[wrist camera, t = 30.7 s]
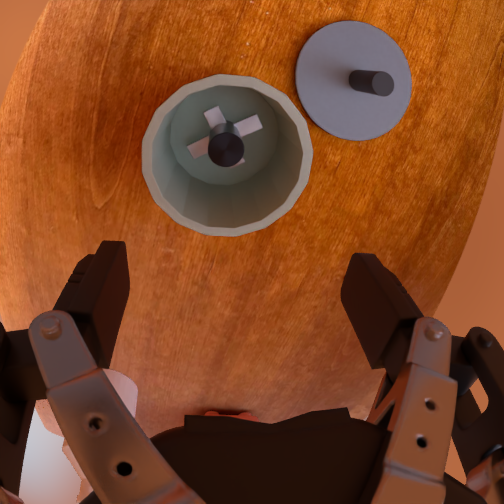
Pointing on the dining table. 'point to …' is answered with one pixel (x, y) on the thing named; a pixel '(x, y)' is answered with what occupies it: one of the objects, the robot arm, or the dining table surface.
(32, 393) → the robot arm
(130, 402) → the bottle
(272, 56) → the dining table surface
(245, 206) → the processor bowl
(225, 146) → the blade unit
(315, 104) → the lid
